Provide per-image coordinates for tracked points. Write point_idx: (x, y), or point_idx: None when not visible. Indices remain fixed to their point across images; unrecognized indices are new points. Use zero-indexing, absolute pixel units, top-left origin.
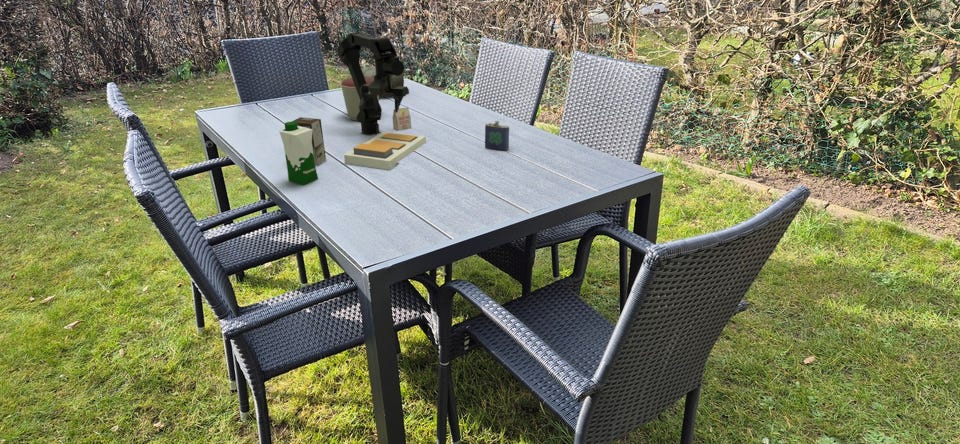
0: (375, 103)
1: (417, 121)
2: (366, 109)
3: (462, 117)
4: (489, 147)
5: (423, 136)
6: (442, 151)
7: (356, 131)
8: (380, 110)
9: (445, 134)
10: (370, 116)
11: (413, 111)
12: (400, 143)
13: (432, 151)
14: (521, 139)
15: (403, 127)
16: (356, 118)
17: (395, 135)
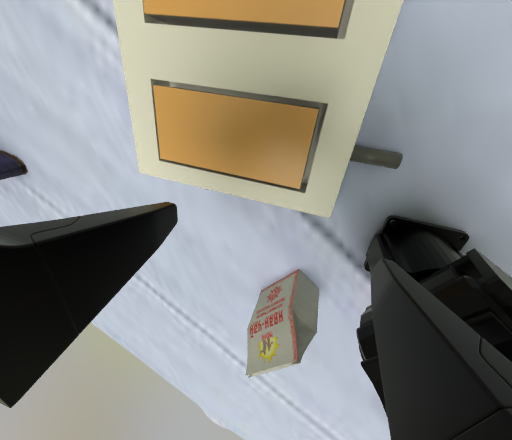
0: (400, 328)
1: None
2: (505, 321)
3: (184, 358)
4: (3, 155)
5: (146, 171)
6: (82, 102)
7: None
8: (362, 336)
9: (159, 259)
10: (433, 278)
11: (306, 412)
12: (164, 2)
13: (107, 92)
14: None
15: (277, 291)
16: None
17: (248, 152)
